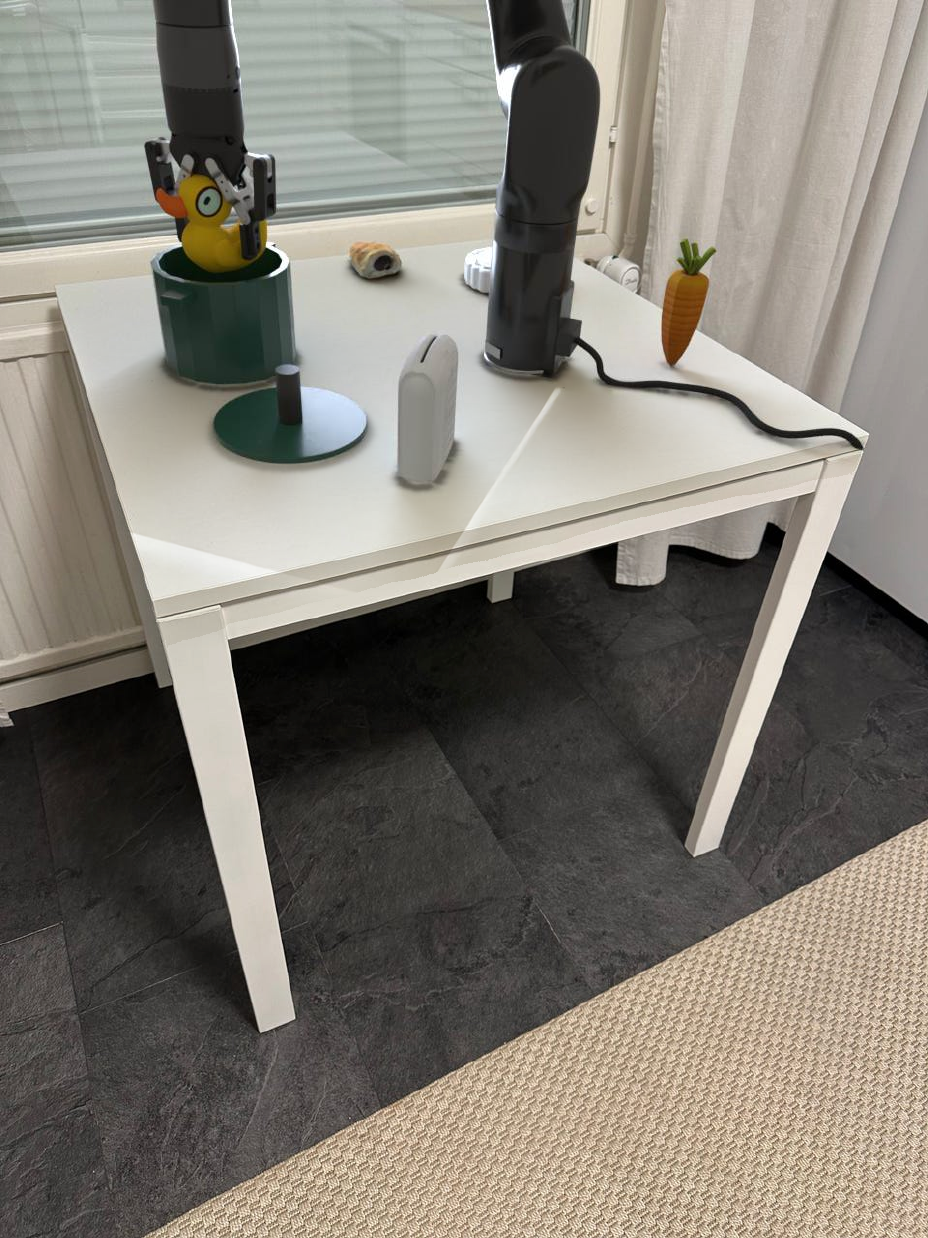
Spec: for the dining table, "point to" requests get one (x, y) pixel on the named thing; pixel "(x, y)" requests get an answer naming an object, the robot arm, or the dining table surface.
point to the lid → (290, 422)
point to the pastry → (374, 259)
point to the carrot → (684, 302)
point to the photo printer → (427, 407)
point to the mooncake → (478, 269)
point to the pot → (225, 317)
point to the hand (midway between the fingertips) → (220, 252)
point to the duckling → (208, 225)
